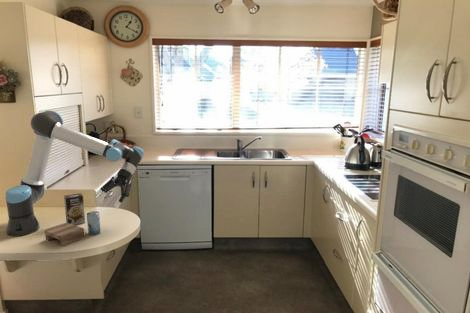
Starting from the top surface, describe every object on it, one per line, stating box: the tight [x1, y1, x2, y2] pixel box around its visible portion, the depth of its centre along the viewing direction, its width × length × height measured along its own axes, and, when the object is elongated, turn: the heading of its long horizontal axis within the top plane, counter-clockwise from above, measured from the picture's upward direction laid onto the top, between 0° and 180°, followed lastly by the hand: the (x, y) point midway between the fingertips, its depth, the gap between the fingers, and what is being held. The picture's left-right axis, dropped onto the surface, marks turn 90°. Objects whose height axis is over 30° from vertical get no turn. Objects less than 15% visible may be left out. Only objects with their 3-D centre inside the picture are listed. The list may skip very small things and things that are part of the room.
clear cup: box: [86, 210, 102, 236], centre depth 186 cm, size 6×6×11 cm
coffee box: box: [63, 192, 86, 226], centre depth 199 cm, size 9×6×16 cm
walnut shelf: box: [44, 222, 85, 247], centre depth 180 cm, size 14×12×5 cm
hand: (106, 205), depth 191 cm, fingers open, 13 cm apart
